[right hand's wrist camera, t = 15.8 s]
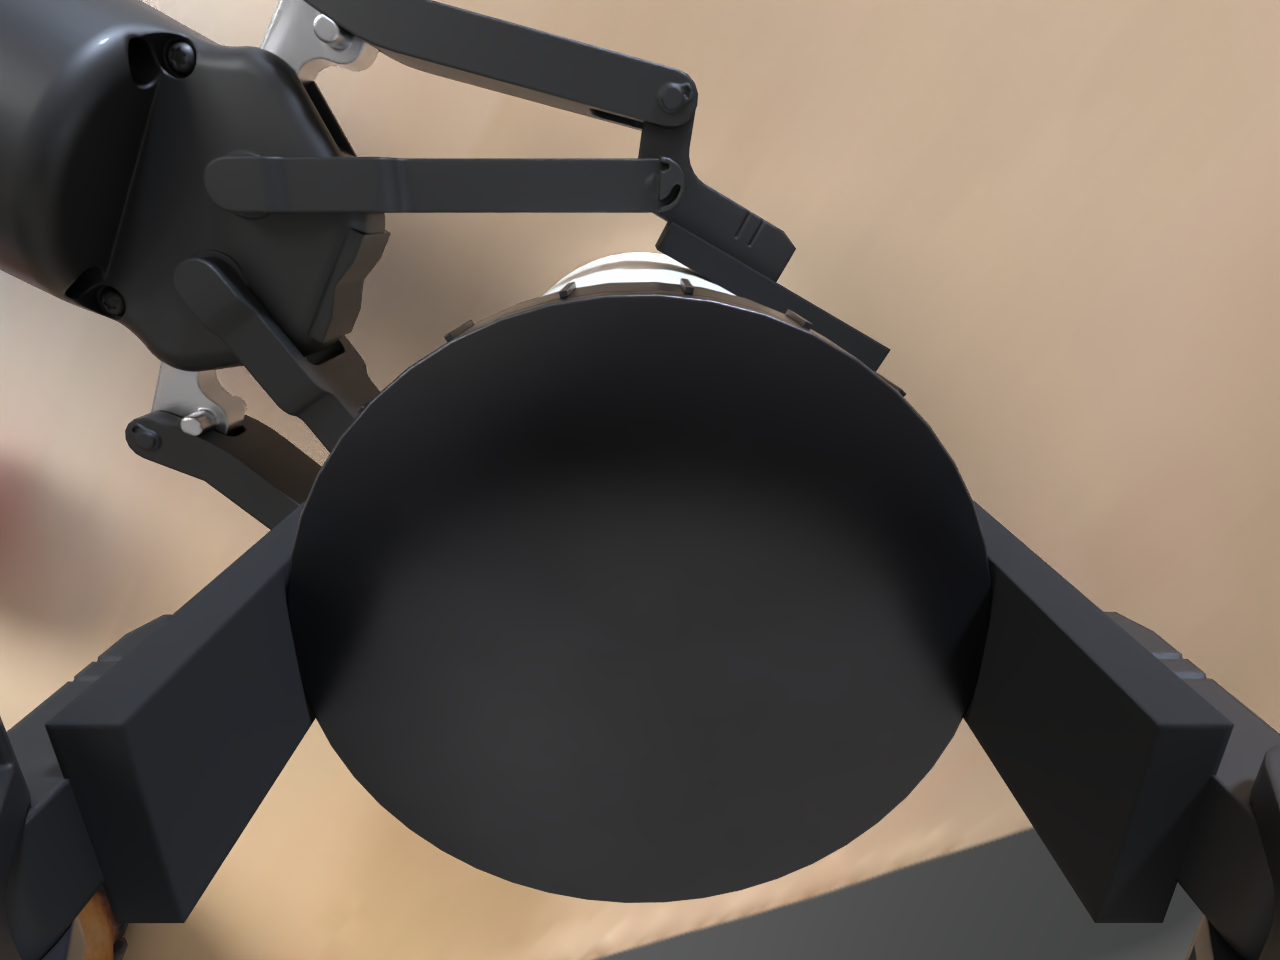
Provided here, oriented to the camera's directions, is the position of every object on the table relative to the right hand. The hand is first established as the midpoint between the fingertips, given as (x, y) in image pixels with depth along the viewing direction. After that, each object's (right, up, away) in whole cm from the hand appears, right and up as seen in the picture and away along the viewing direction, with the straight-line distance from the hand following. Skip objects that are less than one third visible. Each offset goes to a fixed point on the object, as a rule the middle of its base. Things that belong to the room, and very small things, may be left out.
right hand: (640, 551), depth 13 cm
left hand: (+4, +1, +8) cm, 9 cm away
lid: (0, -1, -3) cm, 3 cm away
